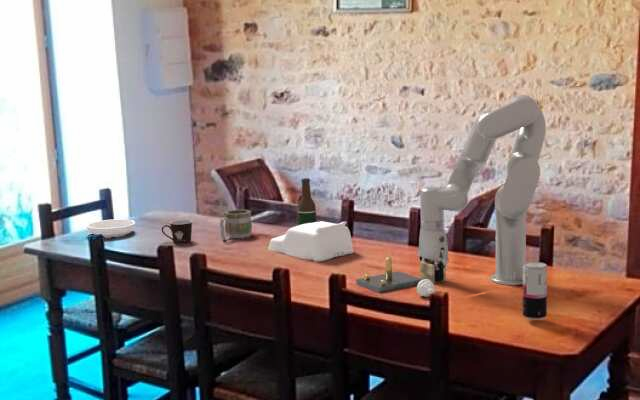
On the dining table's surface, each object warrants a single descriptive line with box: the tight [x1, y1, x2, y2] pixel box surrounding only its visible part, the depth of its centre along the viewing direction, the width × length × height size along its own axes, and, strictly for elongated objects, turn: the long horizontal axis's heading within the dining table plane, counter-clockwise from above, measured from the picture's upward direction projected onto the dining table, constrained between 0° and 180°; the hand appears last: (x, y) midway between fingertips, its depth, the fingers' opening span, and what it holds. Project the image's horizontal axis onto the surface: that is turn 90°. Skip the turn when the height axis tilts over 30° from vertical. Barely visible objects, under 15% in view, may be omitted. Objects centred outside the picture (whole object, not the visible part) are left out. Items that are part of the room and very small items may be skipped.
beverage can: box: [522, 261, 548, 320], centre depth 255 cm, size 6×6×15 cm
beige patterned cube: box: [419, 260, 447, 284], centre depth 297 cm, size 6×6×6 cm
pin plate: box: [355, 257, 422, 293], centre depth 294 cm, size 13×17×9 cm
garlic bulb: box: [416, 279, 436, 298], centre depth 278 cm, size 6×6×5 cm
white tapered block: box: [267, 220, 355, 263], centre depth 339 cm, size 19×30×13 cm, turn 44°
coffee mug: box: [161, 219, 193, 244], centre depth 360 cm, size 12×9×10 cm
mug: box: [219, 209, 253, 241], centre depth 364 cm, size 16×11×12 cm
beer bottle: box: [297, 177, 317, 226], centre depth 369 cm, size 8×8×24 cm
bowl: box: [86, 218, 136, 239], centre depth 375 cm, size 20×20×7 cm
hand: (432, 278), depth 298 cm, fingers closed on beige patterned cube, 5 cm apart
